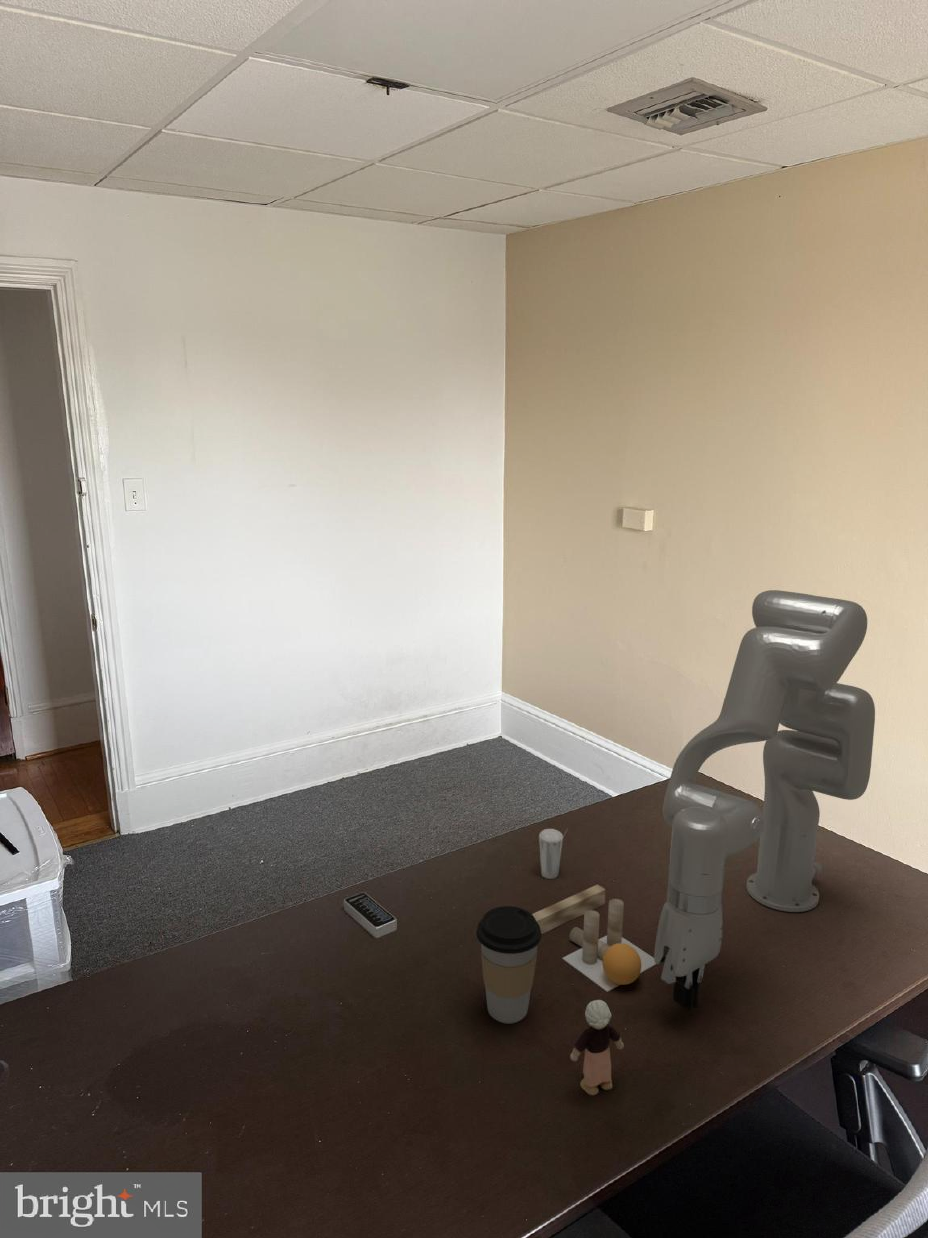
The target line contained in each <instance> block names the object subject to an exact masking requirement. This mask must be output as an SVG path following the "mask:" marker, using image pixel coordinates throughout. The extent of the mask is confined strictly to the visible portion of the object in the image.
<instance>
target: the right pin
mask: <svg viewBox="0 0 928 1238" xmlns="http://www.w3.org/2000/svg"><path fill="white" fill-rule="evenodd" d="M624 909H625V908H624V901H623V900H622V899H618V898H612V899H609V900H608V912H607V930H606V931H607V933H606V936H607V945H609V946H612V945H614V944H618V943H621V942H622V937H623V925H624V924H623V921H624Z"/></svg>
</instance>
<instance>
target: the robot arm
mask: <svg viewBox="0 0 928 1238" xmlns="http://www.w3.org/2000/svg"><path fill="white" fill-rule="evenodd" d="M751 615H752V621H753V623H754V626H755V627H753V628H750V629H749V630H748V631H746V632H745V634H744V635H743V637H742V638H741V642H740V644H739V648H738V651H737V654H736V657H735V661H734V664H733V668H732V671H731V675H730V679H729V683H728V686H727V689H726V693H725V697H724V699H723V703H722V705H721V709H720V714H719V716H718V717H717V719H716V720H715V721H714V722H712V723H711V724H709V725H708V726H707V727H705V728H703V729H702V730H700V731H699V732H698V733H697V734H696V735H694V736H693V737H692V738H691V739H690V740H689V741H688V742H687V743H686V745H684V746H683V749H682V750H681V751H680V753H679V754H678V756H677V758H676V759H675V762H674V763H673V767H672V771H671V774H670V778H669V781H668V784H667V787H666V791H665V794H664V799H663V805H662V813H663V819H664V821H665V822H666V823H667V825H668V826H669V827H671V839H670V841H671V842H670V853H669V868H668V881H667V891H666V892H667V893H666V901H665V902H664V904H663V907H662V910H661V912H660V917H659V921H658V925H657V931H656V938H655V945H654V954H653V958H654V961H655V963H656V965H658V966H659V965H661V964H663V963H664V964H663V968H662V971H661V975H660V976H661V977H660V979H661V981H663V982H665V983H666V984H668V985H670V984H673V985H674V987H673V1001H674V1002H675V1003H677V1005H679V1006H681V1007H682V1008H684V1009H686V1010H687V1011H688V1012H691V1011H693V1010H694V1009H696V1008H698V1006H699V996H700V995H699V994H700V993H699V992H700V983H701V982H702V981H703V979H704V978H703V977H704V972H705V968H706V967H707V964H709V962H711V961H712V960H714V959H715V958H716V957H718V955H719V953H720V952H721V947H722V939H723V903H722V898H723V890H724V887H723V886H724V877H725V876H724V875H725V867H726V865H725V864H726V859H727V858H728V857H730V856H733V855H735V854H738V853H741V852H744V851H745V850H747V849H749V848H751V847H752V846H753V845H754V844H755V843H758V840H759V849H758V857H757V867H756V872H754V873H752V874H751V875H749V876H748V877H747V880H746V885H745V886H746V890H747V891H746V892H748V894H749V895H750V896H751V897H752V898H753V899H754V900H755V901H756V902H758V903H759V904H761V905H763V906H766V907H768V908H771V909H774V910H777V911H781V912H789V913H800V912H801V913H803V912H807V911H810V910H812V909H814V908H815V907H817V905H818V904H819V900H820V893H819V890H818V889H817V887H816V886H815V885H814V884H813V883H812V882H813V879H814V877H815V875H818V874H819V873H821V872H822V871H823V865H822V864H821V863H820V862H819V861H815V858H816V857H815V856H816V847H817V841H818V832H819V823H820V818H821V817H820V815H821V812H820V806H819V802H818V800H817V797H816V795H815V793H814V792H816V793H820V794H823V795H827V796H830V797H833V798H837V799H842V800H848V801H853V800H857V799H859V798H861V797H862V796H864V794H865V792H866V790H867V787H868V785H869V781H870V777H871V768H872V758H873V757H872V756H873V748H874V747H873V745H874V734H875V724H876V721H875V720H876V706H875V701H874V699H873V697H872V695H871V694H870V693H869V692H868V691H866V690H865V689H863V688H860V687H857V686H854V685H849V684H843V683H839V681H840V679H841V678H842V676H843V674H844V673H845V672H846V670H847V668H848V666H849V665H850V664H851V662H852V660H853V659H854V657H855V656H856V654H857V653H858V651H859V650H860V648H861V647H862V645H863V642H864V640H865V637H866V635H867V630H868V615H867V612H866V610H865V609H864V608H863V606H862V605H860V604H859V603H857V602H855V601H852V600H846V599H841V598H834V597H826V596H821V595H820V596H819V595H813V594H807V593H800V592H793V591H788V590H787V591H786V590H778V589H776V590H775V589H774V590H773V589H772V590H771V589H770V590H765V591H762V592H760V593H759V594H757V595H756V596H755V598H754V600H753V602H752V607H751ZM780 725H781V726H783V727H785V728H786V729H780V730H779V727H780ZM759 742H760V743H761V742H764V746H763V752H762V764H763V773H764V774H763V775H764V793H763V795H764V796H763V797H764V798H763V807H762V809H761V807H759V805H757V804H756V803H755V802H753V801H751V800H749V799H746V798H743V797H739V796H737V795H734V794H733V795H732V794H729V793H726V792H724V791H721V790H717V789H713V788H709V787H708V786H705V785H704V786H703V785H700V784H698V783H696V779H697V776H698V773H699V770H700V769H701V768H702V765H704V763H705V762H706V761H707V759H709V757H711V756H712V755H714V754H715V753H717V752H719V751H721V750H723V749H727V748H729V747H733V746H737V745H743V744H750V743H759Z"/></svg>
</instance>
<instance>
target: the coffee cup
mask: <svg viewBox="0 0 928 1238" xmlns="http://www.w3.org/2000/svg"><path fill="white" fill-rule="evenodd" d="M532 914H533V913H531V912H529V911H528V910H526V909H524V908H522V907H517V906H511V905H503V906H497V907H494V908H491V909H489V910H488V911H486V912H485V914H484V915H483V916H482V918H481V919H480V921H479V922H478V924H477V928H476V932H475V933H476V938H477V940H478V942H479V943H480V945H481V946H480V957H481V966H482V967H481V968H482V977H483V984H484V988H485V996H486V998H485V999H486V1006H487V1011H488V1012H487V1013H488V1014H489V1016H491V1017H492V1018H493V1019H494V1020H496V1021H497V1022H500V1023H503V1024H507V1025H508V1024H510V1025H511V1024H515V1023H517V1022H520V1021H521V1020H523V1019H525V1017H526V1016H527V1014H528V1010H529V1003H530V999H531V996H530V995H531V990H532V987H533V985H534V984H533V983H534V979H535V977H534V976H535V972H536V971H535V970H536V965H537V964H536V962H537V957H538V956H537V955H538V945H539V943H540V942H541V940H542V934H541V929H540V926H539V924H538V923H537V921H536V920H535V918H534V916H533V915H532Z"/></svg>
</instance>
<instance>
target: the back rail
mask: <svg viewBox="0 0 928 1238" xmlns="http://www.w3.org/2000/svg"><path fill="white" fill-rule="evenodd" d="M605 904H606V888H604V887H603V886H601V885H599V884H596V885H593V886H590V887H589V888H587V889H585V890H583V891H580V892H577V893H575V894H574V895H571V896H569V897H567V898H564V899H563V900H560V901H558V902H555V903H554V904H552V905H550V906H547V907H545V908H543V909H541V910H540V909H539V910H538V911H536V912H533V913H531V914H532V915H533V916H534V918H535V920H536V921H537V923H538V924H539V926H540V929H541V935H543V934H546V933H547V932H549V931H552V930H553V929H556V928H557V927H559V926H562V925H564V924H566V923H568V922H570V921H572V920H574V919H577V918H579V917H581V916H583V915H584V913H585V912H586V911H589V910H592V911H594V910H596V909H598V908H600V907H601V906H604V905H605Z"/></svg>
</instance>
